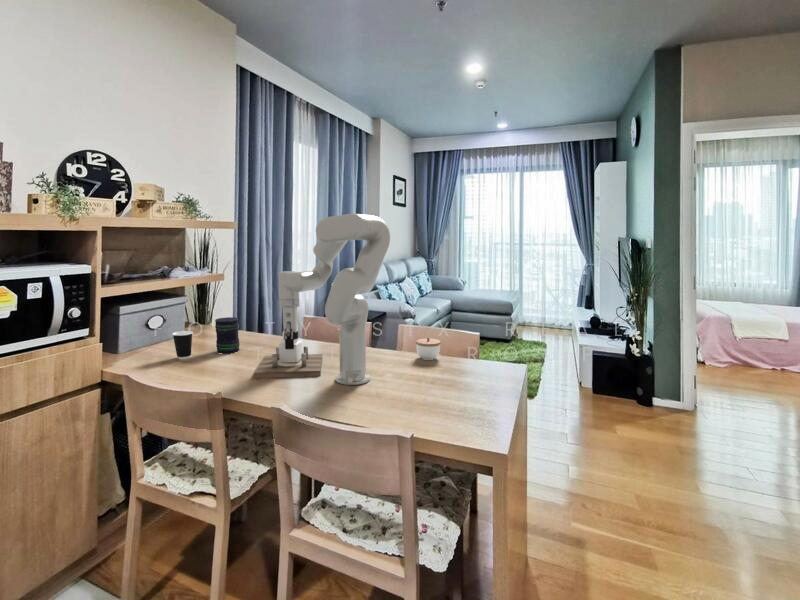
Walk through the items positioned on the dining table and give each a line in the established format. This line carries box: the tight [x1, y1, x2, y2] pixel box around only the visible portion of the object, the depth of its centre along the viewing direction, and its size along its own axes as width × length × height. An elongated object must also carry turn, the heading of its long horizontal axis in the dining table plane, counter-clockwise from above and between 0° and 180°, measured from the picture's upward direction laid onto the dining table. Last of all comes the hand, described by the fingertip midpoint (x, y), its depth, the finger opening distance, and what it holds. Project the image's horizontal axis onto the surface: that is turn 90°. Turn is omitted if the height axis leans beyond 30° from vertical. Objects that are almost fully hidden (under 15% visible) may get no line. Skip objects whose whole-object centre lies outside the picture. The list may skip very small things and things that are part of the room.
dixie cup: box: [172, 330, 194, 360], centre depth 181 cm, size 8×8×11 cm
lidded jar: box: [415, 336, 442, 361], centre depth 184 cm, size 11×11×9 cm
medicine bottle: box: [278, 330, 303, 362], centre depth 168 cm, size 7×7×12 cm
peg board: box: [253, 345, 323, 379], centre depth 168 cm, size 24×24×7 cm
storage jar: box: [214, 316, 240, 355], centre depth 192 cm, size 10×10×15 cm
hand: (290, 346), depth 168 cm, fingers closed on medicine bottle, 8 cm apart
